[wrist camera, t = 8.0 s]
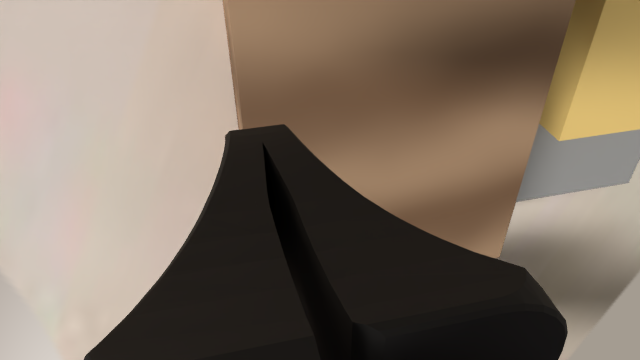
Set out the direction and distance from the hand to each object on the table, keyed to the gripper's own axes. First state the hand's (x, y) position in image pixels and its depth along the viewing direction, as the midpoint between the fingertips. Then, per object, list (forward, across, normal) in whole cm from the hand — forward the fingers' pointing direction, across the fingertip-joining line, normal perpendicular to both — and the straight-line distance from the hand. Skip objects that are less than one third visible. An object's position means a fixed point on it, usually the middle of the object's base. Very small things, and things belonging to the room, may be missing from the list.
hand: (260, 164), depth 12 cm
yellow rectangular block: (+8, -18, +2) cm, 19 cm away
